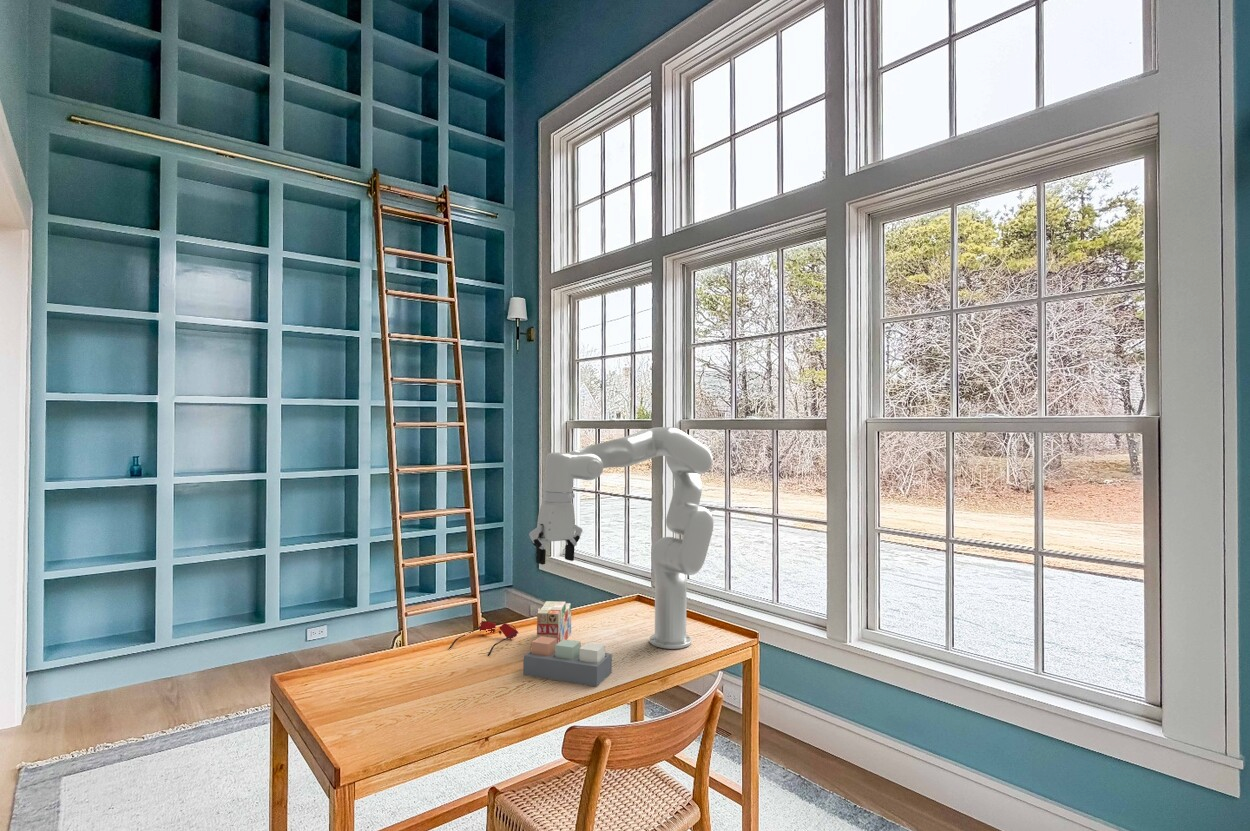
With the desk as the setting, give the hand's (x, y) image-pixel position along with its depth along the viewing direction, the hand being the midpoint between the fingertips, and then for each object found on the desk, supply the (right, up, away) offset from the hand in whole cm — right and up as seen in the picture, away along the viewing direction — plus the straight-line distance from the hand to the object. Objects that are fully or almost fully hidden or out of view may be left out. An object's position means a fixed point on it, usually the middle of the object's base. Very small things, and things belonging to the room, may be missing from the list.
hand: (555, 561), depth 179 cm
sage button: (+4, -26, -4) cm, 26 cm away
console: (+4, -29, -4) cm, 29 cm away
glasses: (-23, -29, +19) cm, 42 cm away
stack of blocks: (-2, -29, +20) cm, 36 cm away
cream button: (+10, -26, -6) cm, 28 cm away
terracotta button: (-3, -26, -1) cm, 26 cm away
